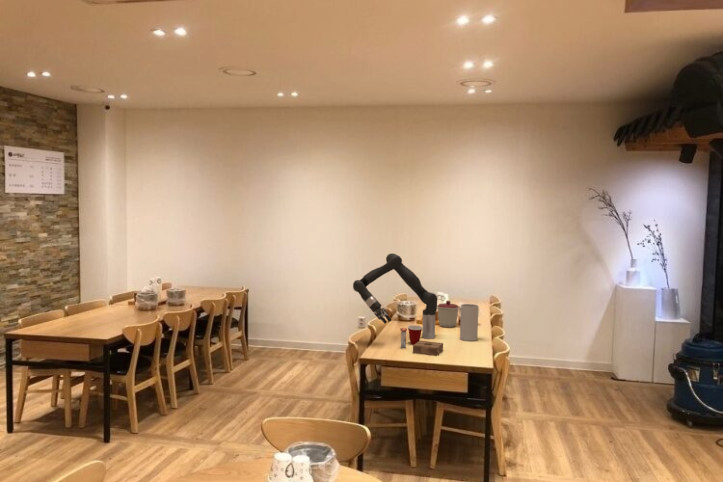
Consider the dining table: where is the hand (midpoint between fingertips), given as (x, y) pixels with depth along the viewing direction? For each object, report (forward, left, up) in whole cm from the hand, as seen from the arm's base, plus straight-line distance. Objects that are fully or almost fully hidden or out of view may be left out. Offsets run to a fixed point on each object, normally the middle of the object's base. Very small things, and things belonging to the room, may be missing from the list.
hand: (388, 321), depth 391 cm
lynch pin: (0, +11, -17) cm, 20 cm away
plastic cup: (-16, +14, -17) cm, 27 cm away
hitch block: (+2, +29, -17) cm, 34 cm away
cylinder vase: (-48, +45, -17) cm, 68 cm away
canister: (-88, +19, -17) cm, 92 cm away
